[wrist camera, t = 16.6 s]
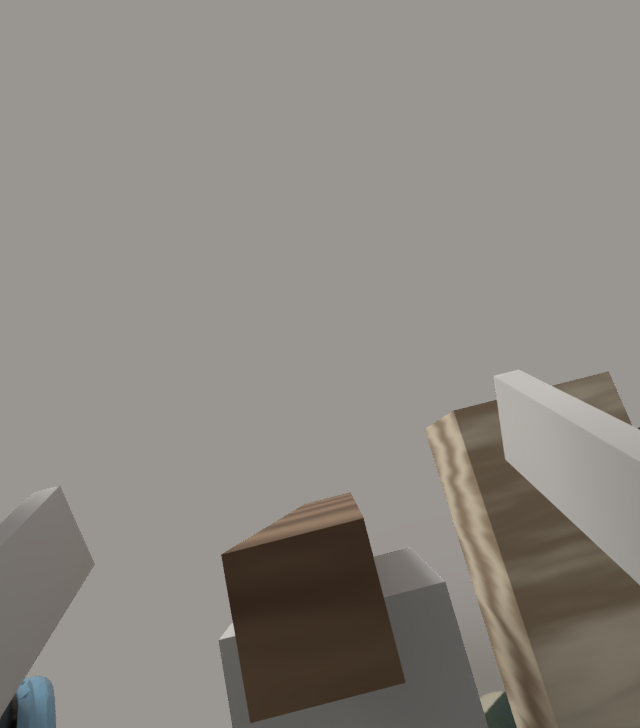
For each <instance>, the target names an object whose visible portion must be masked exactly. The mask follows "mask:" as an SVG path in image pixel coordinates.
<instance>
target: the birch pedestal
mask: <svg viewBox="0 0 640 728" xmlns="http://www.w3.org/2000/svg"><path fill="white" fill-rule="evenodd" d="M553 387H555V388H557V389H559V390H561V391H563V392H565V393H567V394H569V395H571V396H573V397H575V398H577V399H579V400H581V401H583V402H585V403H587V404H589V405H591V406H593V407H595V408H597V409H599V410H601V411H603V412H605V413H607V414H609V415H611V416H613V417H615V418H617V419H619V420H621V421H623V422H625V423H627V424H629V425H631V426H632V424H631V422H630V419H629V417H628V415H627V413H626V410H625V408H624V406H623V403H622V401H621V399H620V397H619V395H618V392H617V390H616V387H615V385H614V383H613V381H612V378H611V376H610V374H609V372H605V373H601V374H597V375H593V376H589V377H585V378H581V379H577V380H573V381H569V382H565V383H562V384H557V385H553ZM425 431H426V435H427V438H428V441H429V444H430V447H431V451H432V454H433V457H434V460H435V464H436V467H437V470H438V473H439V477H440V480H441V483H442V487H443V490H444V493H445V496H446V499H447V503H448V506H449V509H450V512H451V516H452V519H453V522H454V525H455V529H456V532H457V535H458V538H459V542H460V545H461V548H462V551H463V554H464V558H465V561H466V564H467V567H468V571H469V574H470V577H471V580H472V584H473V587H474V590H475V593H476V596H477V600H478V603H479V606H480V609H481V613H482V615H483V619H484V622H485V625H486V628H487V632H488V635H489V639H490V641H491V645H492V648H493V651H494V655H495V658H496V661H497V665H498V667H499V671H500V674H501V677H502V681H503V684H504V687H505V690H506V694H507V697H508V700H509V703H510V707H511V710H512V713H513V716H514V720H515V723H516V726H517V728H640V585H639V584H638V583H637V582H636V581H635V580H634V579H633V578H632V577H631V576H629V575H628V574H627V573H626V572H625V571H624V570H623V569H622V568H621V567H620V566H619V565H618V564H617V563H616V562H614V561H613V560H612V559H611V558H610V557H609V556H608V555H607V554H606V553H605V552H604V551H603V550H602V549H601V548H599V547H598V546H597V545H596V544H595V543H594V542H593V541H592V540H591V539H590V538H589V537H588V536H587V535H586V534H585V533H583V532H582V531H581V530H580V529H579V528H578V527H577V526H576V525H575V524H574V523H573V522H572V521H571V520H570V519H568V518H567V517H566V516H565V515H564V514H563V513H562V512H561V511H560V510H559V509H558V508H557V507H556V506H555V505H553V504H552V503H551V502H550V501H549V500H548V499H547V498H546V497H545V496H544V495H543V494H542V493H541V492H540V491H538V490H537V489H536V488H535V487H534V486H533V485H532V484H531V483H530V482H529V481H528V480H527V479H526V478H525V477H524V476H522V475H521V474H520V473H519V472H518V471H517V470H516V469H515V468H514V467H513V466H512V465H511V464H510V463H509V462H507V461H506V460H505V455H504V448H503V441H502V433H501V426H500V419H499V412H498V405H497V400H494V401H490V402H486V403H482V404H479V405H475V406H471V407H467V408H463V409H459V410H455V411H452V412H451V413H449V414H448V415H446V416H445V417H443V418H442V419H440V420H438V421H437V422H435V423H434V424H432V425H431V426H429V427H427V428H426V429H425Z"/></svg>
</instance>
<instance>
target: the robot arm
mask: <svg viewBox="0 0 640 728" xmlns="http://www.w3.org/2000/svg"><path fill="white" fill-rule="evenodd" d="M494 383H495V390H496V397H497V405H498V412H499V419H500V426H501V433H502V441H503V448H504V455H505V460H506V461H507V462H509V463H510V464H511V465H512V466H513V467H514V468H515V469H516V470H517V471H518V472H519V473H520V474H521V475H522V476H524V477H525V478H526V479H527V480H528V481H529V482H530V483H531V484H532V485H533V486H534V487H535V488H536V489H537V490H538V491H540V492H541V493H542V494H543V495H544V496H545V497H546V498H547V499H548V500H549V501H550V502H551V503H552V504H553V505H555V506H556V507H557V508H558V509H559V510H560V511H561V512H562V513H563V514H564V515H565V516H566V517H567V518H568V519H570V520H571V521H572V522H573V523H574V524H575V525H576V526H577V527H578V528H579V529H580V530H581V531H582V532H583V533H585V534H586V535H587V536H588V537H589V538H590V539H591V540H592V541H593V542H594V543H595V544H596V545H597V546H598V547H599V548H601V549H602V550H603V551H604V552H605V553H606V554H607V555H608V556H609V557H610V558H611V559H612V560H613V561H614V562H616V563H617V564H618V565H619V566H620V567H621V568H622V569H623V570H624V571H625V572H626V573H627V574H628V575H629V576H631V577H632V578H633V579H634V580H635V581H636V582H637V583H638V584H639V585H640V428H635V427H633V426H631V425H629V424H627V423H625V422H623V421H621V420H619V419H617V418H615V417H613V416H611V415H609V414H607V413H605V412H603V411H601V410H599V409H597V408H595V407H593V406H591V405H589V404H587V403H585V402H583V401H581V400H579V399H577V398H575V397H573V396H571V395H569V394H567V393H565V392H563V391H561V390H559V389H557V388H555V387H553V386H551V385H549V384H546V383H545V382H543V381H541V380H538V379H537V378H534V377H533V376H530V375H528V374H526V373H524V372H522V371H520V370H515V371H512V372H507V373H503V374H500V375H496V376H494ZM93 566H94V562H93V560H92V557H91V555H90V553H89V551H88V548H87V546H86V544H85V541H84V539H83V537H82V535H81V532H80V530H79V528H78V526H77V523H76V521H75V519H74V517H73V514H72V512H71V510H70V507H69V505H68V503H67V501H66V498H65V496H64V494H63V492H62V489H61V487H60V486H56V487H52V488H49V489H44V490H40V491H36V492H33V493H32V494H31V495H30V496H29V497H28V498H27V499H26V500H25V501H24V502H23V503H22V504H21V505H20V506H19V507H18V508H17V509H15V510H14V511H13V512H12V513H11V514H10V515H9V516H8V517H7V518H6V519H5V520H4V521H3V522H2V523H1V524H0V728H56V717H55V716H56V715H55V697H54V690H53V686H52V683H51V682H50V680H49V679H47V678H46V677H43V676H35V677H30V678H25V677H26V675H27V673H28V672H29V670H30V669H31V667H32V665H33V664H34V662H35V660H36V659H37V657H38V656H39V654H40V652H41V651H42V649H43V647H44V646H45V644H46V643H47V641H48V639H49V638H50V636H51V634H52V633H53V631H54V630H55V628H56V626H57V624H58V623H59V621H60V619H61V618H62V617H63V615H64V613H65V612H66V610H67V608H68V607H69V605H70V603H71V602H72V600H73V598H74V597H75V595H76V594H77V592H78V590H79V589H80V587H81V586H82V584H83V582H84V581H85V579H86V577H87V576H88V574H89V572H90V571H91V569H92V568H93Z"/></svg>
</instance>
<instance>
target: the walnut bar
mask: <svg viewBox="0 0 640 728" xmlns="http://www.w3.org/2000/svg"><path fill="white" fill-rule="evenodd" d="M221 556H222V561H223V567H224V573H225V579H226V585H227V591H228V597H229V602H230V608H231V614H232V620H233V626H234V632H235V638H236V643H237V649H238V655H239V661H240V667H241V673H242V679H243V684H244V690H245V696H246V702H247V708H248V714H249V720H250V723H253V722H257V721H261V720H265V719H269V718H273V717H276V716H280V715H284V714H288V713H292V712H296V711H299V710H303V709H307V708H311V707H315V706H319V705H323V704H326V703H330V702H334V701H338V700H342V699H346V698H349V697H353V696H357V695H361V694H365V693H369V692H372V691H376V690H380V689H384V688H388V687H392V686H395V685H399V684H403V683H406V682H405V678H404V674H403V670H402V666H401V662H400V658H399V655H398V651H397V647H396V643H395V639H394V635H393V631H392V627H391V623H390V620H389V616H388V612H387V608H386V604H385V600H384V596H383V592H382V588H381V585H380V581H379V577H378V573H377V569H376V565H375V561H374V557H373V553H372V550H371V546H370V542H369V538H368V534H367V531H366V526H365V522H364V518H363V516H362V515H361V512H360V511H359V509H358V507H357V505H356V503H355V501H354V499H353V497H352V495H351V493H347V494H343V495H339V496H336V497H331V498H327V499H324V500H320V501H316V502H312V503H308V504H304V505H303V506H301V507H299V508H298V509H296V510H295V511H293V512H291V513H289V514H288V515H286V516H284V517H283V518H281V519H279V520H278V521H276V522H274V523H273V524H271V525H270V526H268V527H266V528H265V529H263V530H261V531H260V532H258V533H256V534H255V535H253V536H251V537H250V538H248V539H246V540H245V541H243V542H241V543H240V544H238V545H236V546H235V547H233V548H231V549H230V550H228V551H226V552H225V553H223V554H222V555H221Z"/></svg>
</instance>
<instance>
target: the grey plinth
mask: <svg viewBox="0 0 640 728" xmlns="http://www.w3.org/2000/svg"><path fill="white" fill-rule="evenodd" d="M374 561H375V565H376V569H377V573H378V577H379V581H380V585H381V588H382V592H383V596H384V600H385V604H386V608H387V612H388V616H389V620H390V623H391V627H392V631H393V635H394V639H395V643H396V647H397V651H398V655H399V658H400V662H401V666H402V670H403V674H404V678H405V682H406V683H403V684H399V685H395V686H392V687H388V688H384V689H380V690H376V691H372V692H369V693H365V694H361V695H357V696H353V697H349V698H346V699H342V700H338V701H334V702H330V703H326V704H323V705H319V706H315V707H311V708H307V709H303V710H299V711H296V712H292V713H288V714H284V715H280V716H276V717H273V718H269V719H265V720H261V721H257V722H253V723H250V720H249V714H248V708H247V702H246V696H245V690H244V684H243V679H242V673H241V667H240V661H239V655H238V649H237V643H236V638H235V632H234V626H233V622H232V624H231V625H230V626H229V628H228V629H227V630H226V632H225V633H224V634H223V635H222V636H221V638H220V639H219V646H220V652H221V658H222V664H223V670H224V676H225V683H226V688H227V695H228V701H229V707H230V714H231V720H232V726H233V728H488V725H487V722H486V719H485V715H484V712H483V708H482V705H481V702H480V698H479V695H478V691H477V688H476V685H475V681H474V678H473V674H472V671H471V668H470V664H469V661H468V657H467V654H466V651H465V647H464V644H463V641H462V638H461V634H460V630H459V627H458V623H457V620H456V616H455V614H454V610H453V607H452V603H451V600H450V596H449V593H448V589H447V586H446V583H445V581H444V580H443V579H442V578H441V577H440V576H439V575H438V574H437V573H436V572H435V571H434V570H433V569H432V568H431V567H430V566H429V565H428V564H427V563H426V562H425V561H424V560H423V559H422V558H421V557H420V556H419V555H418V554H417V553H416V552H415V551H414V550H413V549H412V548H411V547H410V548H406V549H402V550H398V551H394V552H390V553H387V554H383V555H379V556H375V557H374Z"/></svg>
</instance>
